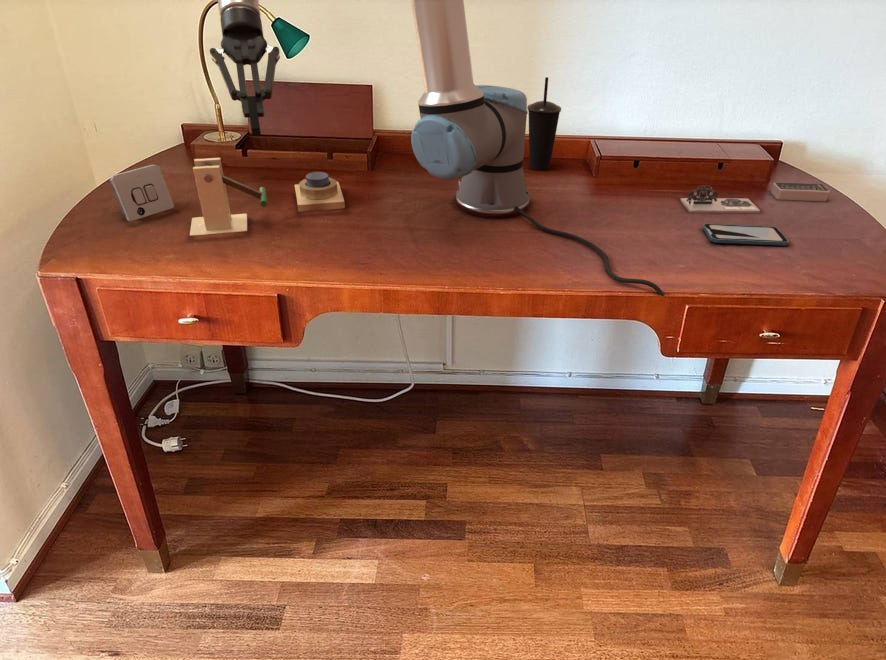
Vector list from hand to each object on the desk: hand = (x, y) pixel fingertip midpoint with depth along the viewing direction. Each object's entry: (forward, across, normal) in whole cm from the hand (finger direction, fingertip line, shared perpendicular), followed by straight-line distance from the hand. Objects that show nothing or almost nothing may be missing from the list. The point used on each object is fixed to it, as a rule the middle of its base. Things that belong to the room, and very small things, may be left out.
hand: (256, 131), depth 128 cm
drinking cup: (+2, -62, -20) cm, 66 cm away
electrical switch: (+10, +23, -12) cm, 28 cm away
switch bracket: (+17, +9, -5) cm, 20 cm away
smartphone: (+34, -88, +12) cm, 95 cm away
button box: (+11, -10, -11) cm, 18 cm away
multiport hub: (+23, -113, +1) cm, 115 cm away
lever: (+11, +6, 0) cm, 13 cm away
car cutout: (+24, -92, +1) cm, 95 cm away
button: (+8, -10, -8) cm, 15 cm away
